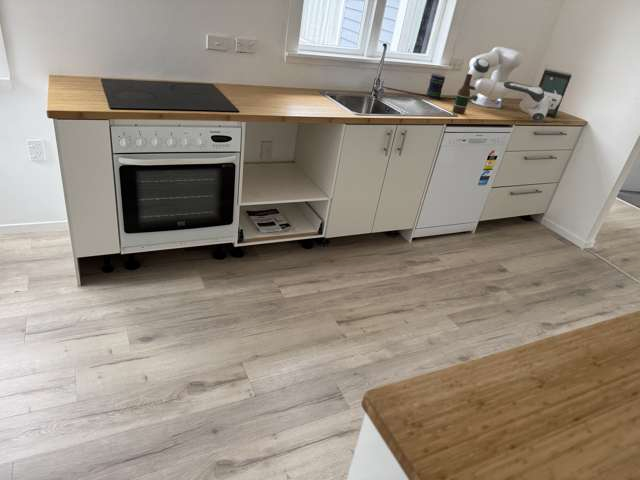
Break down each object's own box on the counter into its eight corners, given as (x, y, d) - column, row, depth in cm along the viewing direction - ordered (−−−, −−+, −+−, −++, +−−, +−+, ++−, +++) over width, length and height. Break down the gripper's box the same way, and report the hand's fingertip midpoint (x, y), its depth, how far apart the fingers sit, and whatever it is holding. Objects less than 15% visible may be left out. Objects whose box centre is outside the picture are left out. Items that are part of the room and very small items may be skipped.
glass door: (554, 117, 341) (570, 79, 328) (530, 111, 346) (544, 73, 333) (554, 115, 349) (569, 78, 336) (530, 109, 354) (544, 72, 341)
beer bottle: (457, 114, 306) (468, 75, 294) (449, 110, 312) (460, 72, 300) (466, 114, 309) (478, 76, 298) (459, 111, 315) (470, 73, 304)
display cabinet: (554, 118, 348) (571, 75, 334) (529, 111, 353) (544, 69, 339) (554, 115, 360) (571, 73, 345) (530, 109, 365) (545, 67, 350)
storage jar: (436, 99, 337) (442, 77, 330) (423, 96, 341) (429, 74, 334) (441, 98, 345) (447, 76, 337) (428, 94, 349) (434, 73, 341)
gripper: (525, 102, 328) (530, 89, 335) (557, 109, 322) (561, 96, 329) (528, 94, 323) (533, 82, 330) (560, 102, 317) (564, 89, 324)
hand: (547, 89), depth 329 cm, fingers open, 8 cm apart
